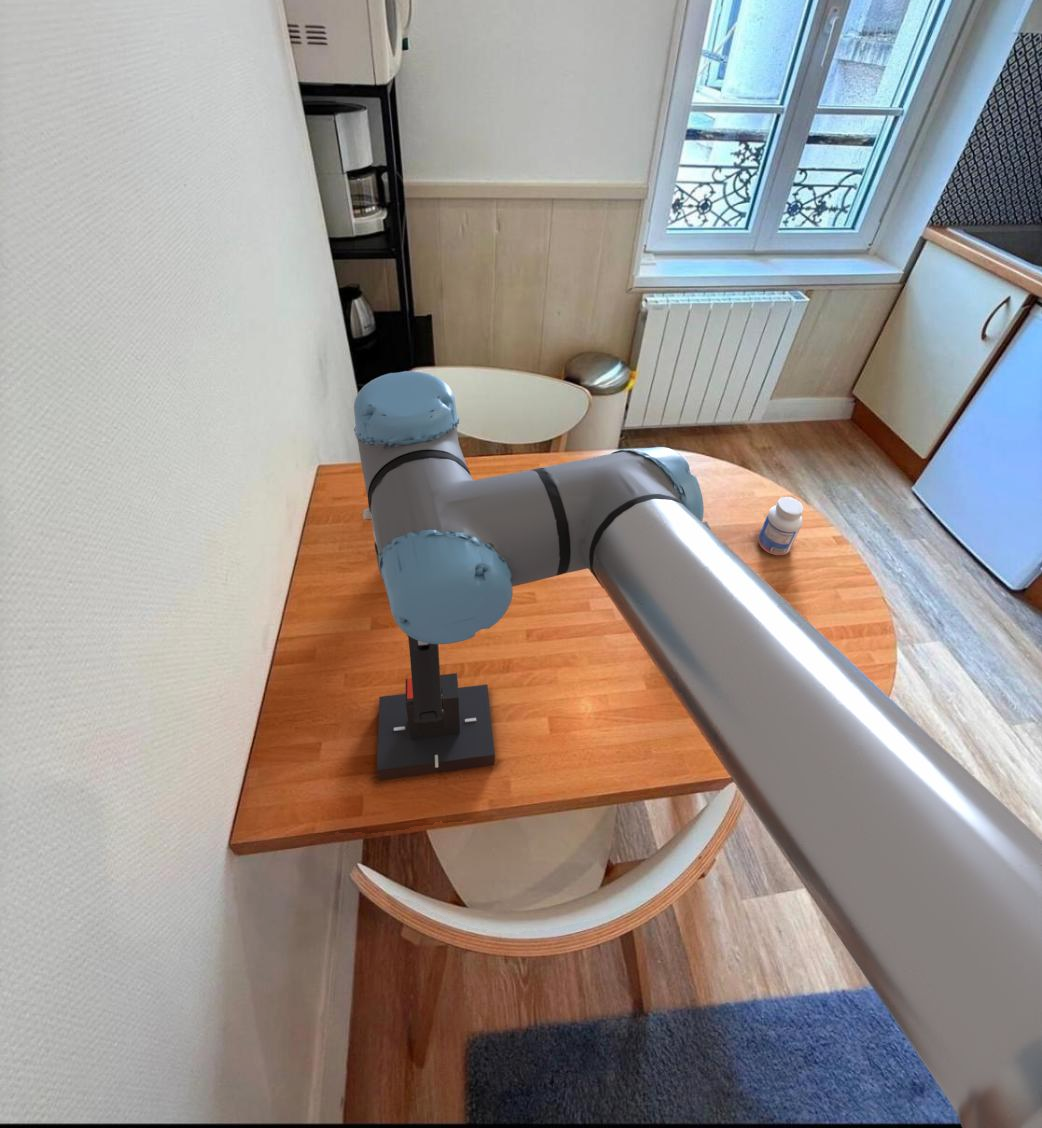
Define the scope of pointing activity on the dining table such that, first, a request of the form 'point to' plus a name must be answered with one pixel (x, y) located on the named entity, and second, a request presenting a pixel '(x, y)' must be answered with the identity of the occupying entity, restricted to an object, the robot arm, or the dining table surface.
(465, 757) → the panel
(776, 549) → the pill bottle
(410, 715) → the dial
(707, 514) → the dining table surface
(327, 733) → the dining table surface
